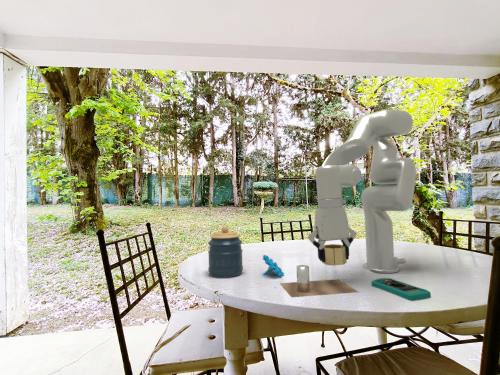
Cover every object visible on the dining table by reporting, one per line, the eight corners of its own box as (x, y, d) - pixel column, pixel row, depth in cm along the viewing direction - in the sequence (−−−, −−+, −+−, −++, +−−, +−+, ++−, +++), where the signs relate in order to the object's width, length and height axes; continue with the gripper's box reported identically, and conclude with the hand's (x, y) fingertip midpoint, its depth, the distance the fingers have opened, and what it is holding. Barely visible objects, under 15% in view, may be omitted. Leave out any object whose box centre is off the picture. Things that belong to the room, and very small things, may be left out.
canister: (248, 270, 109) (247, 225, 110) (232, 279, 97) (231, 228, 98) (219, 268, 115) (219, 224, 115) (201, 276, 103) (200, 227, 104)
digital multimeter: (388, 285, 89) (388, 276, 89) (432, 301, 75) (432, 290, 75) (369, 288, 86) (369, 278, 86) (411, 305, 72) (410, 293, 72)
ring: (339, 258, 94) (338, 243, 94) (350, 263, 87) (349, 247, 87) (319, 260, 93) (318, 245, 93) (328, 266, 86) (327, 249, 86)
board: (338, 281, 93) (338, 279, 93) (359, 294, 80) (359, 291, 80) (279, 285, 90) (279, 283, 90) (291, 299, 77) (291, 297, 77)
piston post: (307, 288, 85) (306, 264, 85) (311, 292, 81) (310, 267, 81) (295, 289, 84) (294, 265, 84) (299, 293, 80) (298, 268, 81)
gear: (282, 276, 94) (262, 254, 97) (270, 288, 94) (250, 266, 98) (287, 272, 105) (269, 252, 108) (276, 283, 105) (258, 263, 108)
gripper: (349, 201, 95) (353, 254, 95) (300, 205, 92) (303, 259, 92) (361, 202, 87) (365, 259, 87) (308, 206, 85) (312, 265, 85)
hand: (333, 259), depth 90 cm, fingers closed on ring, 7 cm apart
